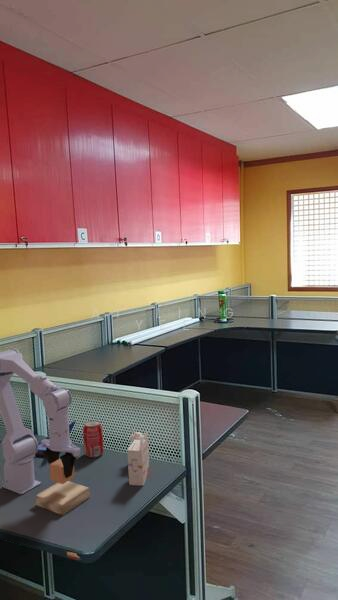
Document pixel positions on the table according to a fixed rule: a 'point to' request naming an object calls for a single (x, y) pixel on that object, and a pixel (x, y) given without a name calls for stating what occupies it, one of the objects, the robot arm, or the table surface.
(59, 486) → the birch block
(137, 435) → the white figurine
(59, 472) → the orange cube
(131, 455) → the ink cartridge box
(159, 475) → the table surface
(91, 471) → the table surface
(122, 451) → the table surface
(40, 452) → the handheld game console
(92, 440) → the soda can
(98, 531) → the table surface
